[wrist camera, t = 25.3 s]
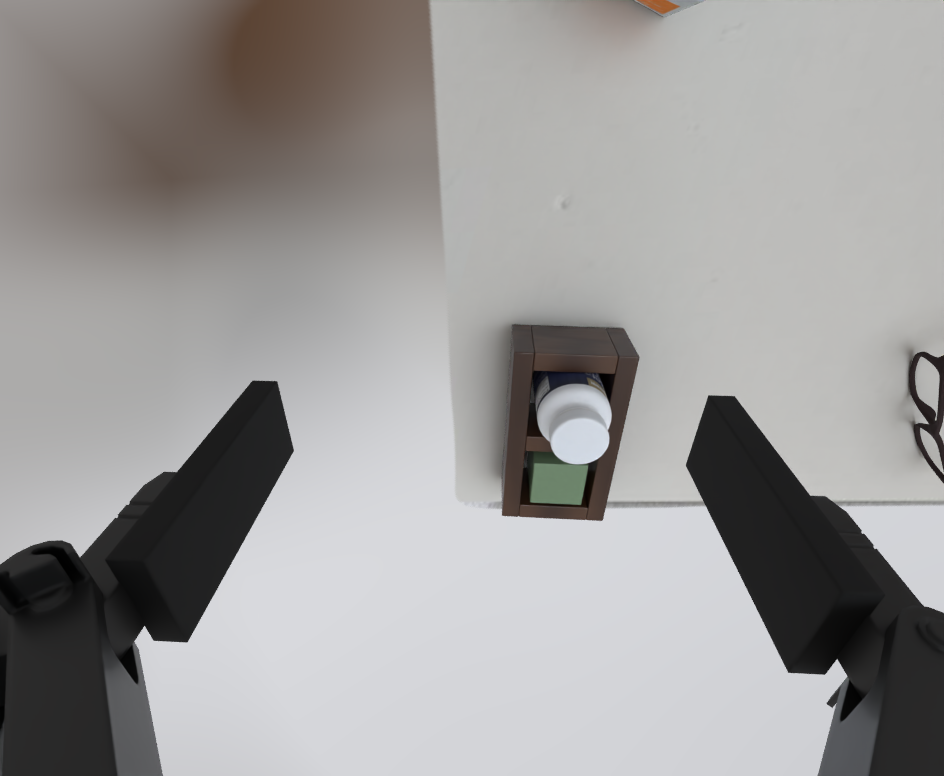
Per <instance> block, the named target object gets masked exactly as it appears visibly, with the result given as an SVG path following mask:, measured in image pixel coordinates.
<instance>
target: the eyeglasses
mask: <svg viewBox="0 0 944 776" xmlns="http://www.w3.org/2000/svg"><path fill="white" fill-rule="evenodd" d="M921 356H922V357H924V358H925V359H927V360H928V361H929V362H931V363H932V364H933V365H934V366H935V367H936V369H937V370H938V372H939V376H940V383H939V399H938V413H937V420H936V421H935V417H936V413H935V411H934V410H933V409H932V408H931V407H930V406H928V405H927V404H925V403H924V402H923V401H922V400H920V399H919V397H918V395H917V391H916V385H915V371H916V366H917V363H918V361H919V358H920V357H921ZM909 384H910V392H911V396H912V398H913V400H914V402H915V404H916V406H917V407H918V409H919V410H920V412H921V413H922V414H923V416H924V417H925V419H926V420H927V421H928V423H929V424H923V423H918V424H915V425H914V432H915V437H916V441H917V444H918V446H919V448H920V450H921V452H922V454H923V456H924V458H925V459H926V461H927V462H928V464H929V465H930V467H931V468H932V469H933V471H934V472H935V473H936V475H937V476H938V477H939V478H940V480H941V481H942V482H943V483H944V475H943V473H942V472H941V471H940V470H939V469H938V468H937V466H936V465H935V464H934V463H933V461H932V460H931V458H930V457H929V455H928V453H927V451H926V449H925V447H924V445H923V443H922V440H921V436H920V428H922V429H924V430H925V431H927V432H928V433H929V434H930V435H931V436H932V437H933V438H934V440H935V441H936V443H937V445H938V449H939V452H940V457H941V461H942V466H943V470H944V444H943V441H942V438H941V436H940V435H939V432H940V429H941V426H942V423H943V416H944V355H943V356H941V357H938V358H937V357H934V356H932V355H930V354H928V353H927V352H919V353H917V354H915V356H914V358H913V361H912V364H911V367H910V374H909Z"/></svg>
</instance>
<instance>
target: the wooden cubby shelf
mask: <svg viewBox="0 0 944 776" xmlns="http://www.w3.org/2000/svg"><path fill="white" fill-rule="evenodd" d="M638 362H639V355H638V354H637V352H636V350H635V348H634V346H633V344H632V343H631V341H630V339H629V337H628V335H627V333H626V331H625V330H624V329H619V328H606V329H605V328H592V327H565V326H538V325H531V326H530V325H512V335H511V350H510V364H509V379H508V393H507V408H506V423H505V437H504V452H503V467H502V515H503V516H516V517H517V516H520V517H536V518H556V519H557V518H558V519H577V520H597V521H602V520H603V516H604V512H605V508H606V503H607V499H608V495H609V490H610V486H611V481H612V477H613V472H614V468H615V464H616V459H617V455H618V450H619V446H620V441H621V437H622V433H623V428H624V424H625V419H626V415H627V410H628V406H629V401H630V397H631V393H632V388H633V384H634V379H635V375H636V370H637V366H638ZM533 370H534V371H555V372H580V373H599V376H600V379H601V382H602V385H603V388H604V390H605V393H606V396H607V399H608V401H609V404H610V408H611V413H612V418H611V423H610V426H609V429H608V433H609V445H608V448H607V449H606V451H605V452H604V454H603V455H602V456H601V457H599V458H598V459H596V460H594V461H592V462H590V463H588V471H587V476H586V481H585V487H584V492H583V497H582V503H581V505H574V504H553V503H532V502H530V495H529V482H528V469H527V468H523V467H524V456H525V451H538V452H553V450H552V448H551V444H550V442H549V441H548V440H547V439H546V438H545V437H544V436H543V434H542V433H541V431H540V429H539V426H538V421H537V414H536V405H535V403H530V395H531V385H532V375H533Z"/></svg>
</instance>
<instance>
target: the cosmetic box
mask: <svg viewBox="0 0 944 776" xmlns="http://www.w3.org/2000/svg"><path fill="white" fill-rule="evenodd" d="M634 1H636V2H638V3H640V4H641V5H643V6H645V7H647V8H649V9H651V10H652V11H654V12H656V13H658V14H660V15H661V16H664V17H667V16H669V15H672V14H674V13H676V12H679V11H681V10H683V9H686V8H688V7H690V6H693V5H695V4H698V3H700V2H702V1H705V0H634Z"/></svg>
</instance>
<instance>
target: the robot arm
mask: <svg viewBox="0 0 944 776" xmlns="http://www.w3.org/2000/svg"><path fill="white" fill-rule="evenodd" d="M293 451H294V449H293V445H292V441H291V437H290V433H289V429H288V424H287V420H286V416H285V412H284V408H283V404H282V400H281V395H280V391H279V387H278V383H277V381H252V382H251V383H250V385H249V386H248V387H247V388H246V389H245V391H244V392H243V393H242V394H241V395H240V397H239V398H238V399H237V400H236V401H235V403H234V404H233V405H232V406H231V408H230V409H229V410H228V411H227V412H226V414H225V415H224V416H223V417H222V418H221V420H220V421H219V422H218V423H217V424H216V426H215V427H214V428H213V429H212V431H211V432H210V433H209V434H208V435H207V437H206V438H205V439H204V440H203V441H202V443H201V444H200V445H199V447H197V449H196V450H195V451H194V452H193V454H192V455H191V456H190V457H189V458H188V460H187V461H186V462H185V463H184V464H183V466H182V467H181V468H180V469H179V470H178V472H163V473H162V474H160V475H159V476H157V477H156V478H154V479H153V480H151V481H150V482H148V483H147V484H145V485H144V486H143V487H142V488H141V489H140V490H139V492H138V493H137V494H136V495H135V496H134V497H133V498H132V499H131V501H130V504H129V505H126V506H125V507H124V509H123V510H122V511H121V512H120V513H119V514H118V518H115V519H114V520H113V521H112V522H111V523H110V524H109V526H108V527H107V528H106V529H105V530H104V531H103V532H102V534H101V535H100V536H99V537H98V538H97V539H96V540H95V541H94V543H93V544H92V545H91V546H90V547H89V548H88V550H87V551H86V552H85V553H84V554H83V555H82V556H81V557H79V556H78V554H77V553H76V551H75V549H74V548H73V546H72V545H71V544H70V543H67V542H64V541H47V542H43V543H40V544H36V545H33V546H30V547H28V548H26V549H24V550H22V551H20V552H18V553H16V554H15V555H13V556H12V557H10V558H9V559H7V560H6V561H5V562H3V563H2V564H0V776H163V774H162V769H161V764H160V759H159V754H158V748H157V743H156V738H155V732H154V727H153V722H152V717H151V711H150V706H149V701H148V697H147V691H146V686H145V681H144V675H143V670H142V665H141V659H140V654H139V649H138V648H137V646H136V644H135V642H134V641H135V639H136V638H137V636H138V635H139V633H140V632H141V630H142V629H143V627H144V626H145V627H146V629H147V630H148V632H149V634H150V635H151V637H152V639H153V640H154V641H171V642H188V640H189V639H190V637H191V635H192V633H193V631H194V630H195V628H196V626H197V624H198V622H199V621H200V619H201V617H202V615H203V613H204V612H205V610H206V608H207V606H208V604H209V603H210V601H211V599H212V597H213V595H214V594H215V592H216V590H217V588H218V586H219V584H220V583H221V581H222V579H223V577H224V575H225V574H226V572H227V570H228V568H229V567H230V565H231V563H232V561H233V559H234V558H235V556H236V554H237V552H238V550H239V549H240V547H241V545H242V543H243V541H244V540H245V537H246V536H247V534H248V532H249V531H250V529H251V527H252V525H253V523H254V521H255V520H256V518H257V516H258V514H259V513H260V511H261V509H262V507H263V505H264V504H265V502H266V500H267V498H268V496H269V494H270V493H271V491H272V489H273V487H274V486H275V484H276V482H277V480H278V478H279V476H280V475H281V473H282V471H283V469H284V468H285V466H286V464H287V462H288V460H289V459H290V457H291V455H292V453H293ZM686 467H687V469H688V471H689V473H690V475H691V477H692V479H693V481H694V483H695V485H696V487H697V489H698V491H699V493H700V495H701V497H702V499H703V501H704V503H705V505H706V507H707V509H708V511H709V513H710V515H711V517H712V519H713V521H714V523H715V525H716V527H717V529H718V531H719V533H720V535H721V537H722V539H723V541H724V543H725V545H726V547H727V549H728V552H729V554H730V556H731V558H732V560H733V562H734V564H735V566H736V567H737V569H738V572H739V574H740V576H741V578H742V580H743V582H744V584H745V586H746V588H747V590H748V592H749V594H750V596H751V598H752V600H753V602H754V604H755V606H756V608H757V610H758V612H759V614H760V616H761V618H762V620H763V622H764V624H765V626H766V628H767V630H768V632H769V634H770V636H771V638H772V640H773V642H774V644H775V647H776V649H777V650H778V653H779V655H780V656H781V659H782V661H783V663H784V665H785V667H786V669H787V671H788V673H805V674H824V675H825V674H826V673H827V671H828V670H829V669H830V667H831V666H832V665H833V663H834V662H835V661H836V660H837V659H838V661H839V662H840V664H841V666H842V667H843V669H844V671H845V673H846V674H847V676H848V677H847V678H846V679H845V680H844V682H843V683H842V684H841V685H840V687H839V688H838V689H837V690H836V691H835V693H834V694H833V695H832V696H831V698H830V699H829V701H828V702H827V705H829V706H831V707H833V706H834V705H835V704H836V703H837V704H836V708H835V711H834V715H833V719H832V723H831V727H830V731H829V735H828V738H827V742H826V746H825V750H824V754H823V758H822V762H821V766H820V769H819V773H818V776H944V613H942V612H940V611H937V610H935V609H932V608H929V607H924V606H923V605H922V604H921V603H920V602H919V600H918V599H917V598H916V597H915V595H914V594H913V593H912V592H911V590H910V589H909V588H908V587H907V585H906V584H905V583H904V582H903V581H902V579H901V578H900V577H899V576H898V574H897V573H896V572H895V571H894V570H893V568H892V567H891V566H890V565H889V563H888V562H887V561H886V560H885V559H884V557H883V556H882V555H881V554H880V552H879V551H878V550H877V549H874V548H873V544H872V543H871V542H870V540H869V539H868V538H867V537H866V535H865V534H862V533H861V529H860V528H859V527H858V525H856V523H855V522H854V521H853V519H852V518H851V517H850V516H849V515H848V513H847V512H846V511H844V510H843V509H842V508H840V507H839V506H838V505H836V504H835V503H834V502H832V501H831V500H830V499H828V498H827V497H826V496H810V495H809V494H808V492H807V491H806V490H805V488H804V487H803V486H802V484H801V483H800V482H799V480H798V479H797V478H796V477H795V475H794V474H793V473H792V471H791V470H790V469H789V467H788V466H787V465H786V463H785V462H784V461H783V459H782V458H781V457H780V455H779V454H778V453H777V452H776V450H775V449H774V448H773V446H772V445H771V444H770V442H769V441H768V440H767V438H766V437H765V436H764V434H763V433H762V432H761V430H760V429H759V428H758V427H757V425H756V424H755V423H754V421H753V420H752V419H751V417H750V416H749V415H748V413H747V412H746V411H745V409H744V408H743V407H742V406H741V404H740V403H739V402H738V400H737V399H736V398H735V396H708V399H707V402H706V405H705V408H704V411H703V414H702V417H701V420H700V423H699V426H698V429H697V432H696V436H695V439H694V442H693V445H692V448H691V451H690V454H689V457H688V460H687V463H686Z"/></svg>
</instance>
